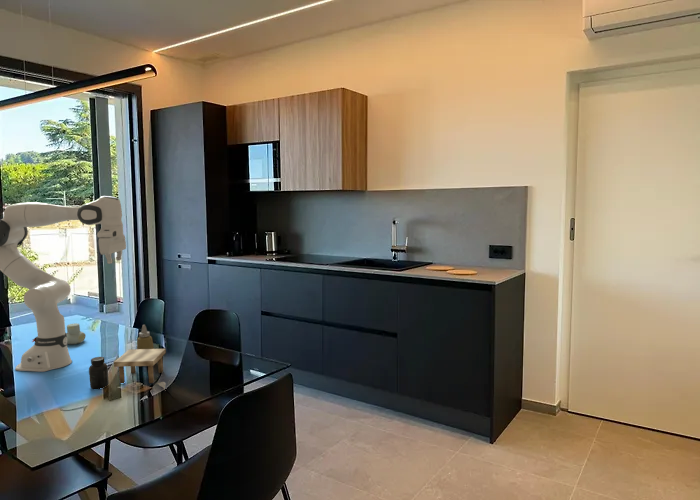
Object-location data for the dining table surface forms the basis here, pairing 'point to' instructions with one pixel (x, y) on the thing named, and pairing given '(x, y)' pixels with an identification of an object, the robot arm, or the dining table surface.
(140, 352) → the stool
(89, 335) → the dining table surface
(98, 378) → the supplement bottle
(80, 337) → the air freshener
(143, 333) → the squeeze bottle
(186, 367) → the dining table surface
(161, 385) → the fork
